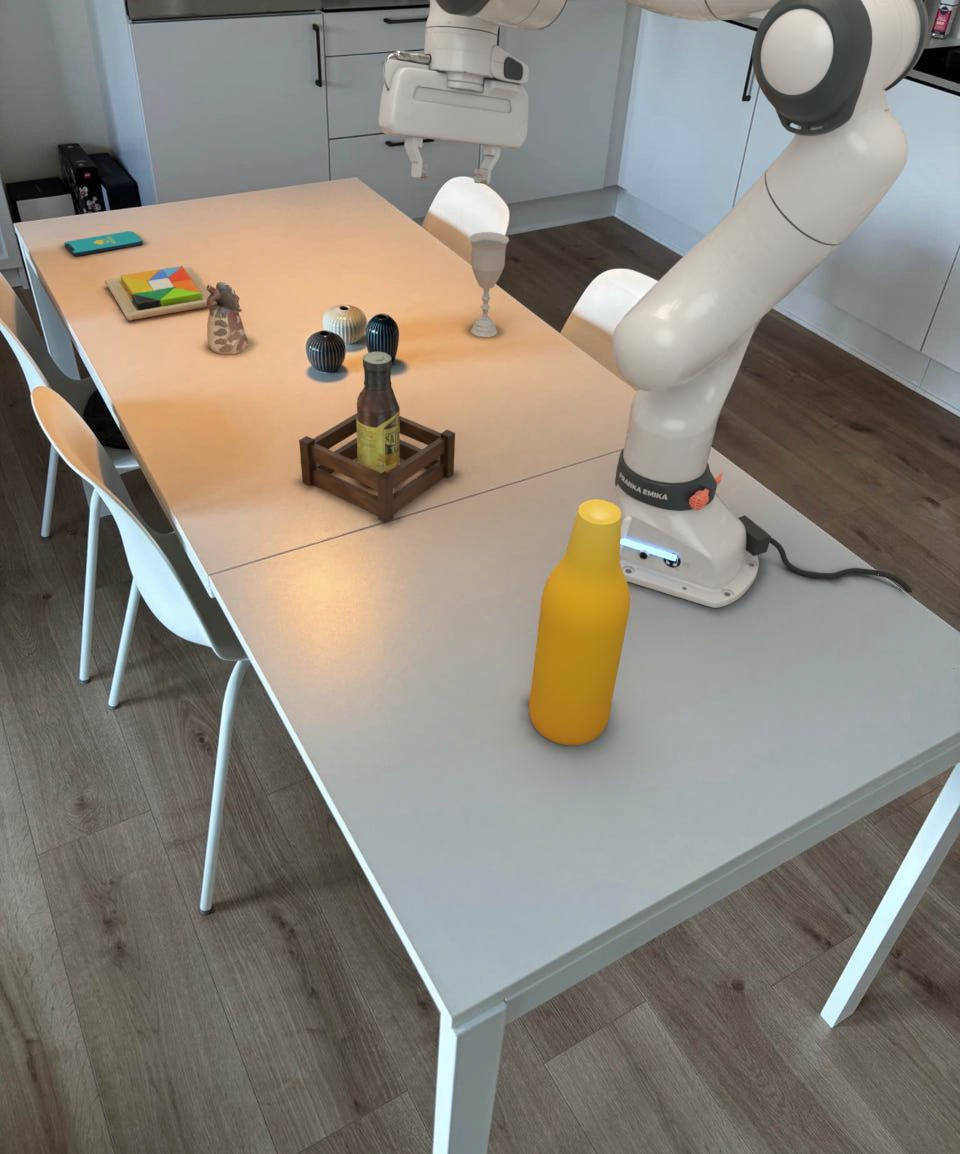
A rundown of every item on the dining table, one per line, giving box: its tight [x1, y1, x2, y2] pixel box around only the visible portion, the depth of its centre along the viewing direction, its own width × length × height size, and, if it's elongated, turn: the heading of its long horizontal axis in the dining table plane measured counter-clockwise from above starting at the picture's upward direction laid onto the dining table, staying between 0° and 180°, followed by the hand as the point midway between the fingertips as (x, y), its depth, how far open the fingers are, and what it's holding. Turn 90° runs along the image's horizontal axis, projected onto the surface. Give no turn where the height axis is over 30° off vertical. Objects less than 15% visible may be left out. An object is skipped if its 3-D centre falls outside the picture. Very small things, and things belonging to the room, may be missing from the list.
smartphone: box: [64, 230, 144, 257], centre depth 212 cm, size 7×1×15 cm
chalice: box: [469, 231, 510, 338], centre depth 183 cm, size 7×7×18 cm
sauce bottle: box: [356, 351, 401, 488], centre depth 141 cm, size 7×6×20 cm
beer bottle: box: [528, 498, 631, 746], centre depth 102 cm, size 9×9×29 cm
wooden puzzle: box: [104, 265, 217, 321], centre depth 192 cm, size 18×19×4 cm
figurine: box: [205, 281, 250, 355], centre depth 175 cm, size 7×7×12 cm
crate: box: [298, 412, 456, 524], centre depth 145 cm, size 16×16×7 cm
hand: (451, 181), depth 125 cm, fingers open, 8 cm apart
